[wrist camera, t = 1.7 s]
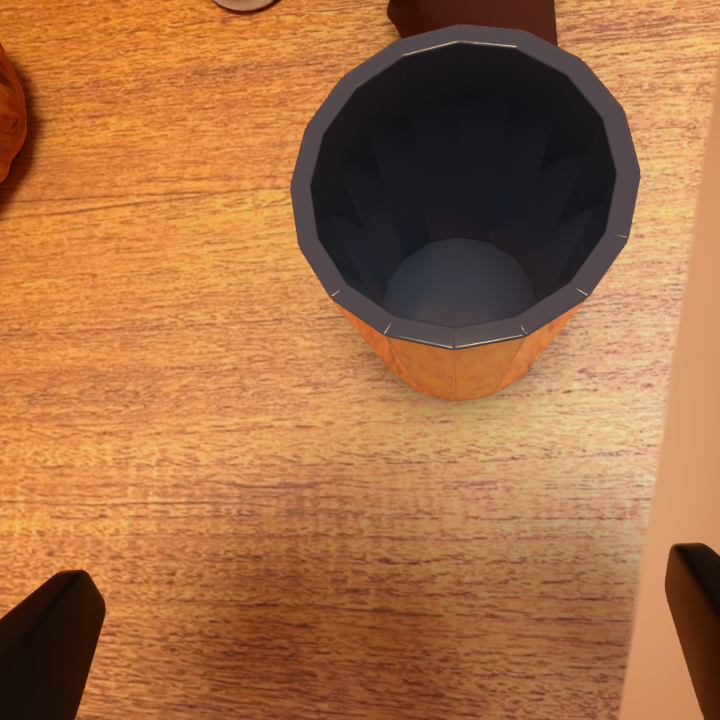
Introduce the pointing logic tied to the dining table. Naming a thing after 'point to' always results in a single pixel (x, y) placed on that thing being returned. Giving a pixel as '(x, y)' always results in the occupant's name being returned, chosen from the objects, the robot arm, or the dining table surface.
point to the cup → (464, 201)
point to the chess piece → (244, 4)
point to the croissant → (10, 115)
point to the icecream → (474, 15)
